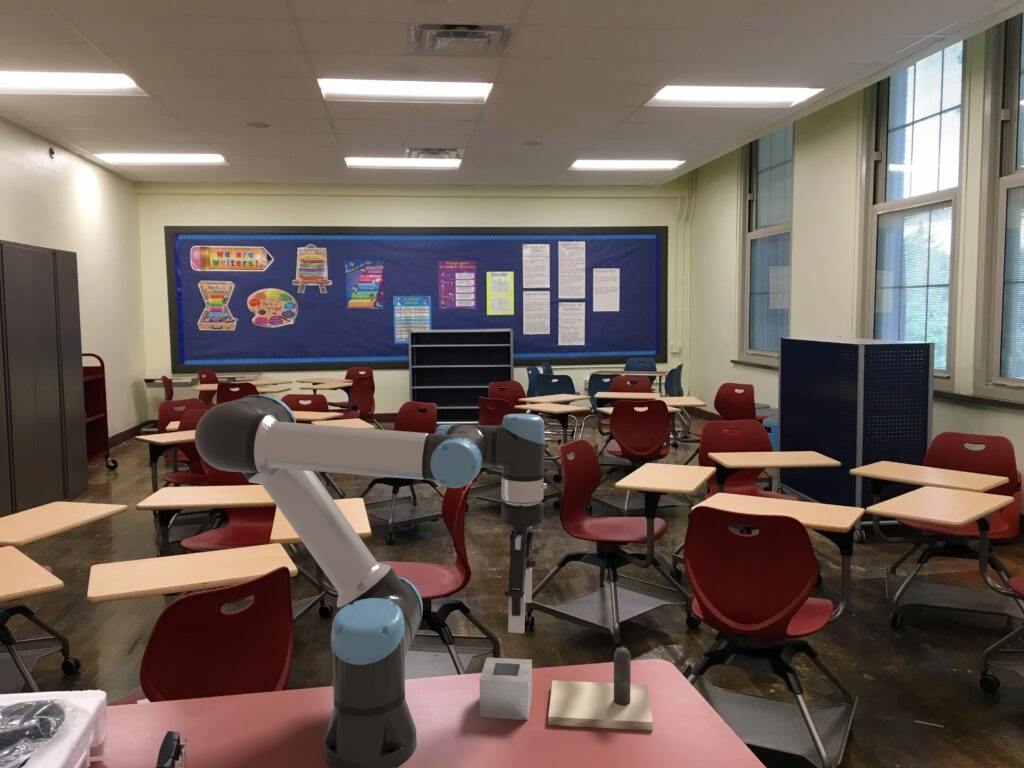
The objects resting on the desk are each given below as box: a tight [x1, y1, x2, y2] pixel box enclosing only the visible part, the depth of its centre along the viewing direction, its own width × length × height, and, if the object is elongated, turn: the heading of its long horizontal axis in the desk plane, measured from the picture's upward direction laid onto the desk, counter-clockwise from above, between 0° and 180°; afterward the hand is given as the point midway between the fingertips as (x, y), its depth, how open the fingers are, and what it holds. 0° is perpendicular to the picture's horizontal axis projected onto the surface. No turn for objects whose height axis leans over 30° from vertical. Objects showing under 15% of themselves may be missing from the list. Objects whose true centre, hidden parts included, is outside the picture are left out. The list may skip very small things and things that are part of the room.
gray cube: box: [479, 657, 533, 721], centre depth 132 cm, size 9×9×7 cm
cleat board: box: [547, 646, 654, 731], centre depth 131 cm, size 18×13×12 cm
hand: (520, 616), depth 131 cm, fingers open, 13 cm apart
